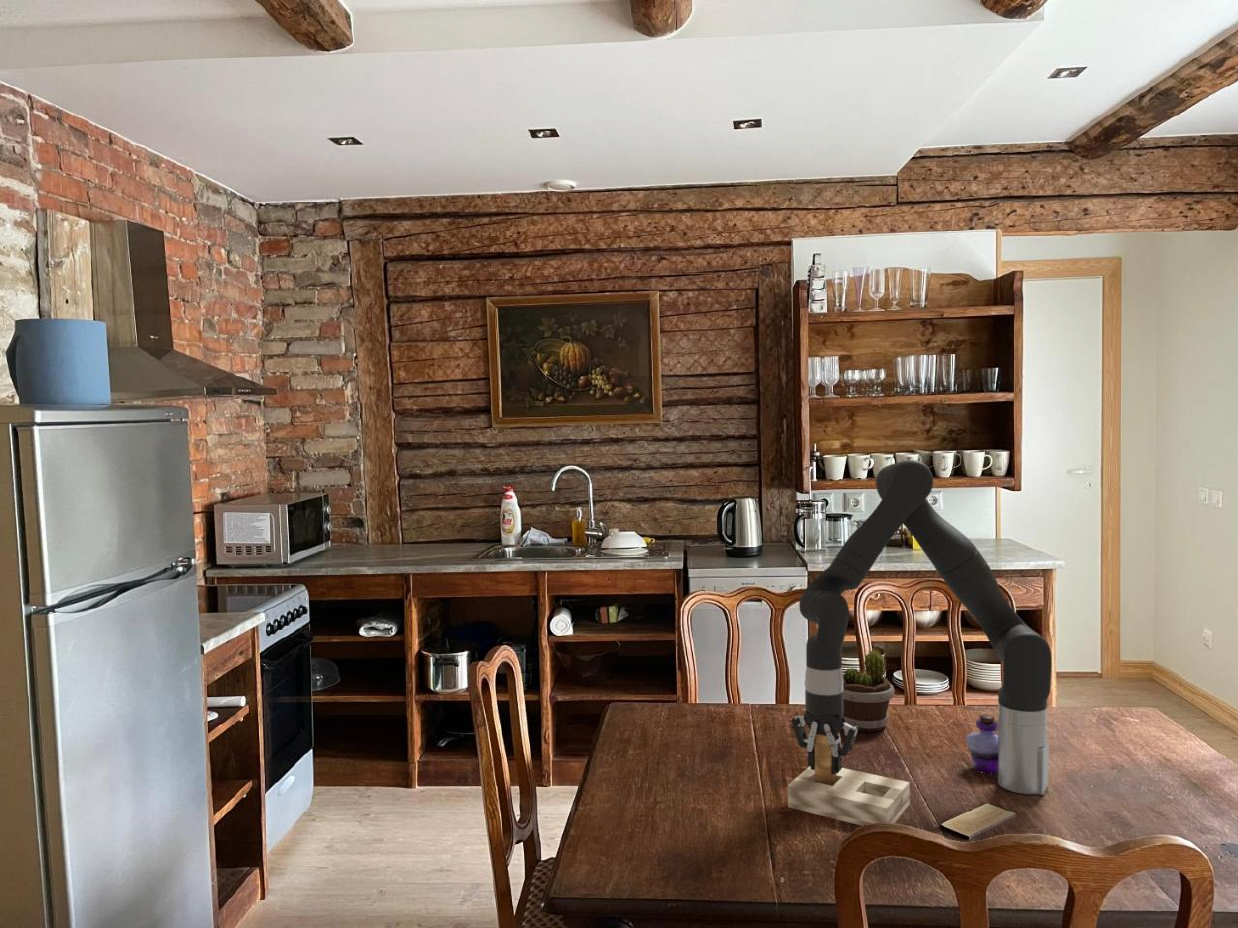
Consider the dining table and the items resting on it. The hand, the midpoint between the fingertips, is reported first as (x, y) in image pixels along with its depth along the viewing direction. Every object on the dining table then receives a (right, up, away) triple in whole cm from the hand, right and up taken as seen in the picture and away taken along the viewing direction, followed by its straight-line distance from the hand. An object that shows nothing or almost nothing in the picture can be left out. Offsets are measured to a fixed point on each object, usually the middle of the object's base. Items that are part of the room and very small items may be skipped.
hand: (824, 770), depth 182 cm
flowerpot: (+20, -4, +43) cm, 47 cm away
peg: (0, -4, 0) cm, 4 cm away
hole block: (+4, -6, -3) cm, 8 cm away
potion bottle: (+39, -5, +14) cm, 41 cm away
